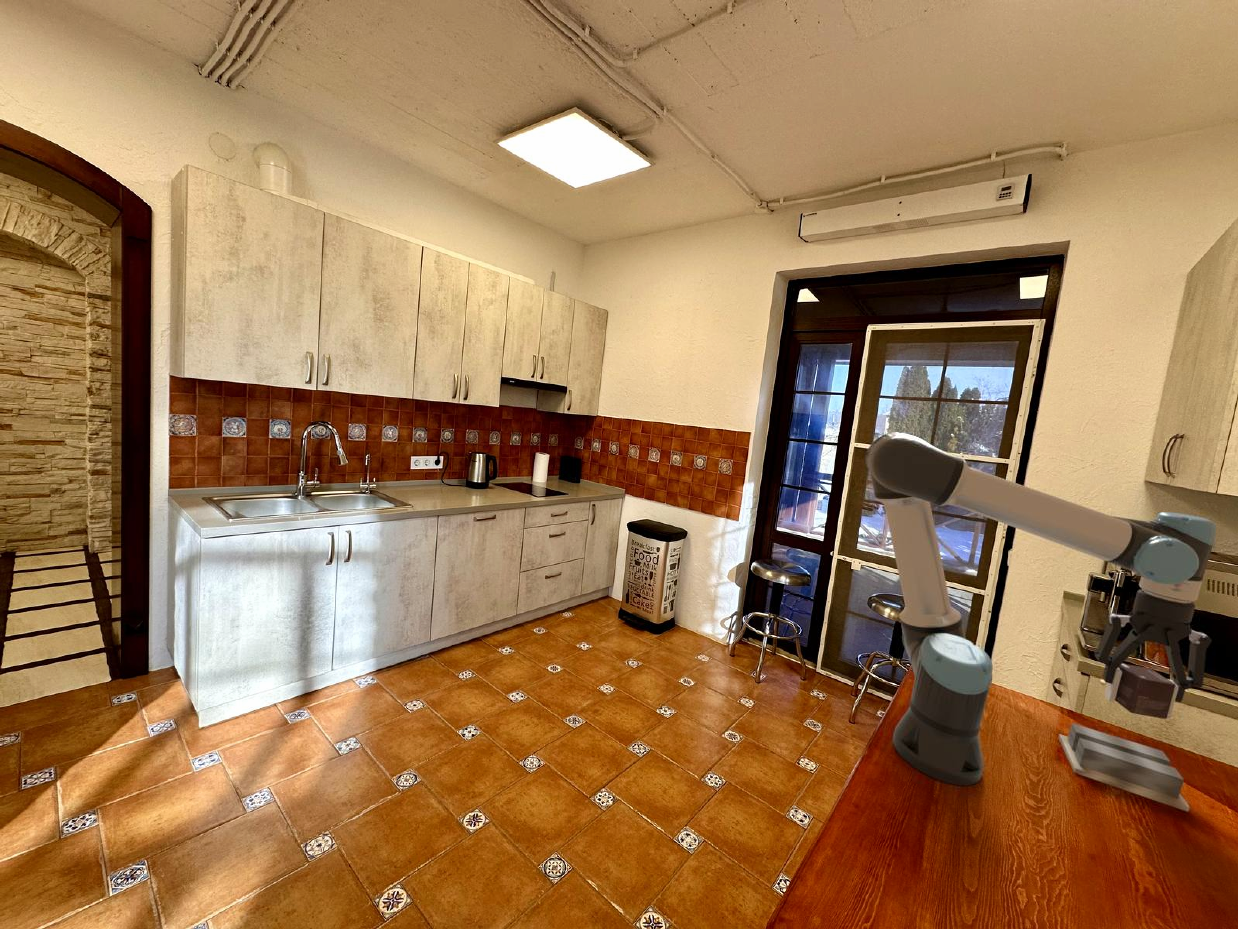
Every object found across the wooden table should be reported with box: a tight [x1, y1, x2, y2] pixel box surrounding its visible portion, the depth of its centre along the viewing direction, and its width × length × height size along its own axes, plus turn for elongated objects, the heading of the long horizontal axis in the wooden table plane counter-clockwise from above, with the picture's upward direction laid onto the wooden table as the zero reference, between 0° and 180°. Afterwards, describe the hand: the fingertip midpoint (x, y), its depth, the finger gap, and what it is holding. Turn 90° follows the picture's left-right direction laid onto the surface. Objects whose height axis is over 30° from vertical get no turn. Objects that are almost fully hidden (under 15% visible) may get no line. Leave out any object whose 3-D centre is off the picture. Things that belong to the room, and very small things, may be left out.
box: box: [1114, 663, 1176, 720], centre depth 98 cm, size 6×6×7 cm
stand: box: [1058, 722, 1190, 813], centre depth 100 cm, size 16×12×5 cm
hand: (1136, 706), depth 98 cm, fingers closed on box, 7 cm apart
